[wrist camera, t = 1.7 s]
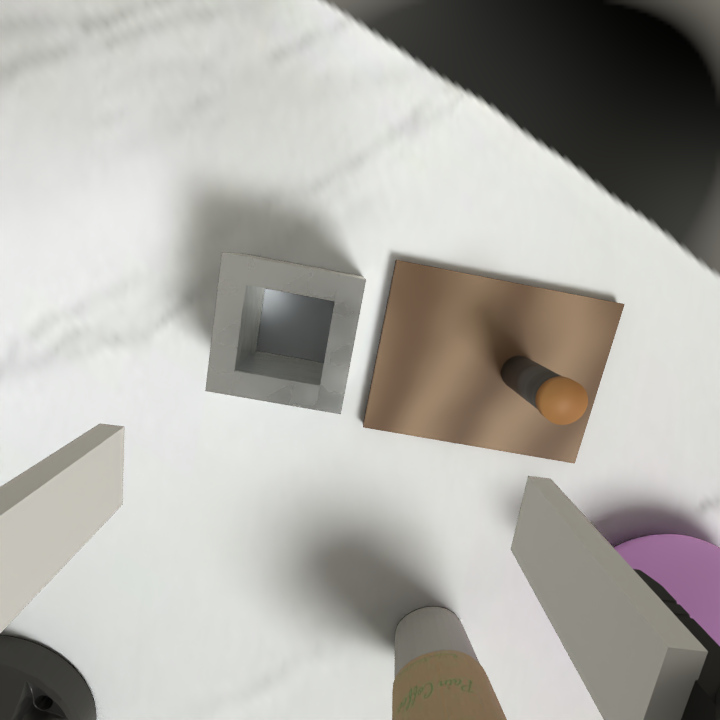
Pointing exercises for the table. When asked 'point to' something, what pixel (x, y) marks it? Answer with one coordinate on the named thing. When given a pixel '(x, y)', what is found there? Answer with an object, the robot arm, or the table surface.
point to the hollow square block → (271, 371)
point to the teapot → (681, 573)
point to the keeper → (489, 362)
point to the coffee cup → (439, 671)
